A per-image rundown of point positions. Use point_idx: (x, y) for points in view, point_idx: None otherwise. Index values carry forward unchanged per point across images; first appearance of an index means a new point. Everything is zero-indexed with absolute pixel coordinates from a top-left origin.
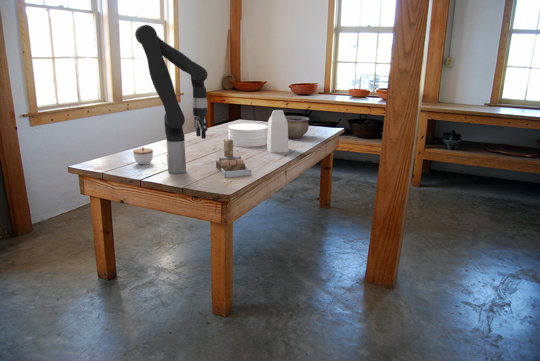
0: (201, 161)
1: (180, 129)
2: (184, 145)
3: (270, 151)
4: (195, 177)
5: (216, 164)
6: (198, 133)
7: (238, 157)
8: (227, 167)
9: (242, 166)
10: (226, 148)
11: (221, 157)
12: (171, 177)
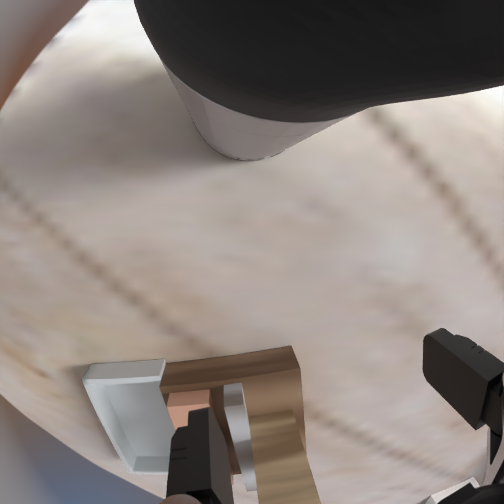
0: (442, 269)
1: (443, 5)
2: (234, 128)
3: (432, 498)
4: (105, 214)
5: (286, 358)
6: (445, 373)
7: (244, 480)
8: None
9: None
10: (256, 482)
11: (244, 416)
12: (133, 76)
